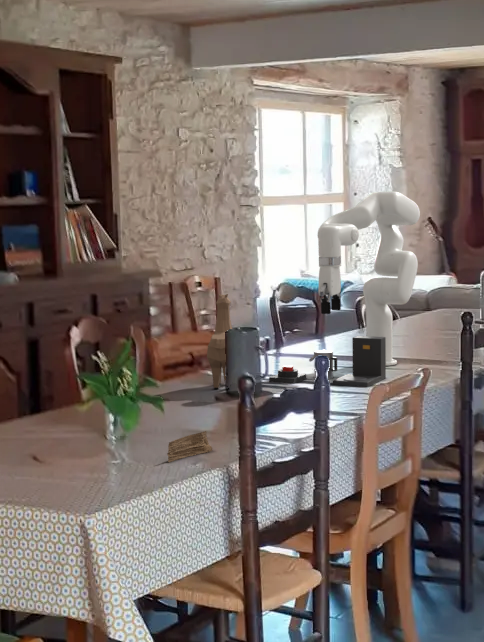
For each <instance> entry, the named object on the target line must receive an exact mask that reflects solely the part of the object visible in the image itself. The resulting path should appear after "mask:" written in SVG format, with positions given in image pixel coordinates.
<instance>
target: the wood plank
mask: <svg viewBox="0 0 484 642" xmlns="http://www.w3.org/2000/svg"><path fill="white" fill-rule="evenodd" d="M167 446H168V448H167V450H168V451H167V453H166V455H167V462H168V463H172V462H174V461H178V460H181V459H185V458H188V457H192V456H196V455H200V454H205V453H209V452H212V451H213V447H212V446H211V445H210V442H209V440H208V436H207V430H205V431H202V432H198V433H193V434H189V435H186V436H183V437H180V438H177V439H174V440H172V441H169V442H168V445H167Z"/></svg>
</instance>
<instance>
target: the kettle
mask: <svg viewBox="0 0 484 642" xmlns="http://www.w3.org/2000/svg"><path fill="white" fill-rule="evenodd" d="M318 355H322V356H327V357H328V358H329V360H330V368H329V371H328V378H329V380H331V379H334V372H337V371H338V357H336V356H334V351H333V350H328V349H318V350H314V351H313V356H311V357H310V358H309V359H308V362H310V363H311V362H314V358H315V357H316V356H318ZM315 377H316V371H315V369H314V368H313V379H316V378H315Z"/></svg>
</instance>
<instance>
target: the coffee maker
mask: <svg viewBox="0 0 484 642" xmlns="http://www.w3.org/2000/svg"><path fill="white" fill-rule="evenodd" d="M351 343H352V374H351V373H347V374H344V375H342V376H340V377H338V378H334V379H333V380H332V385H333V386H345V387H359V388H361V387H362V388H368V387H371V386H373V385H375V384H377V383H379V382H381V381H383V380H385V379H386V378H387V377H386V374H387V372H386V371H387V370H386V369H387V366H386V337H371V336H366V335H356V336H353V337H352V342H351Z"/></svg>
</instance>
